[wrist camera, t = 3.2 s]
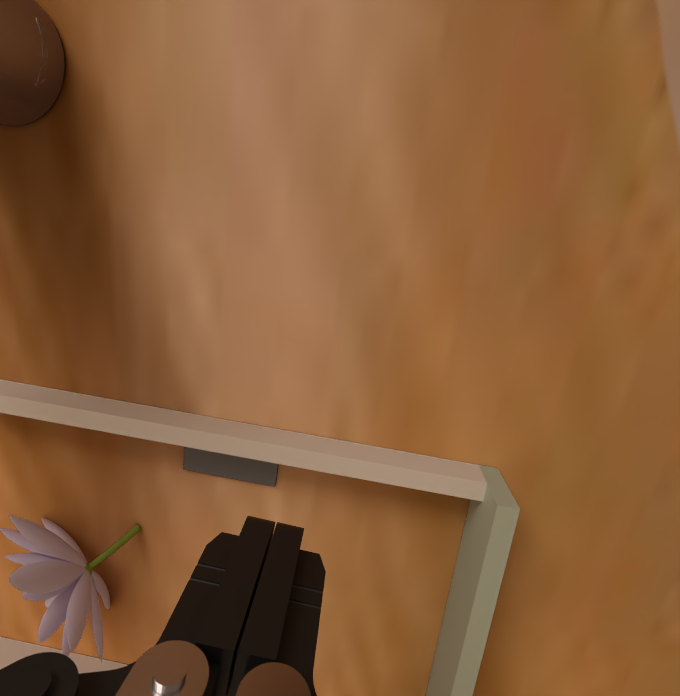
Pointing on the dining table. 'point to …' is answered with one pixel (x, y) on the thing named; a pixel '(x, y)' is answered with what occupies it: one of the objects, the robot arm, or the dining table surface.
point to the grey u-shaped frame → (319, 455)
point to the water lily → (60, 579)
